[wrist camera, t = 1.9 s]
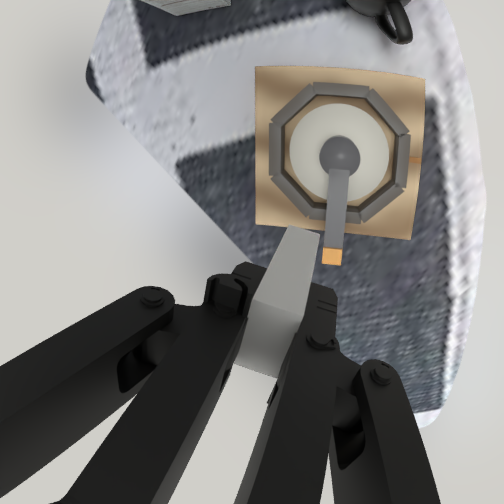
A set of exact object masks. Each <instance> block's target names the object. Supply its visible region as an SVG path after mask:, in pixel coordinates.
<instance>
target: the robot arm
mask: <svg viewBox="0 0 504 504" xmlns="http://www.w3.org/2000/svg"><path fill="white" fill-rule="evenodd" d="M319 238H320V234H317V233H314V232H311V231H308V230H305V229H302V228H299V227H296V226H293V225H290V224H289V226H288V228H287V230H286V232H285V234H284V236H283V238H282V240H281V242H280V244H279V246H278V248H277V250H276V252H275V254H274V256H273V258H272V260H271V262H270V265H269V267H268V269H267V268H264V267H261V266H258V265H255V264H252V263H249V262H244V263H241V264H239V265H237V266H236V267H235V269H234V270H233V272H232V273H231V274H216V275H212V276H211V277H209V278H208V279H207V284H206V290H205V296H204V302H203V304H202V305H201V306H185V305H179V304H175V299H174V297H173V295H172V294H171V293H170V292H169V291H168V290H165V289H163V288H161V287H155V286H145V287H141V288H139V289H136V290H135V291H132V292H131V293H129V294H127V295H126V296H123V297H122V298H120V299H118V300H116V301H114V302H112V303H111V304H109V305H107V306H105V307H103V308H102V309H100V310H98V311H96V312H94V313H93V314H91V315H89V316H87V317H86V318H84V319H82V320H80V321H78V322H77V323H75V324H73V325H71V326H69V327H68V328H66V329H64V330H62V331H61V332H59V333H57V334H55V335H53V336H52V337H50V338H48V339H46V340H45V341H43V342H41V343H39V344H38V345H36V346H35V347H33V348H31V349H29V350H27V351H26V352H24V353H22V354H21V355H19V356H17V357H15V358H14V359H12V360H10V361H8V362H7V363H5V364H3V365H2V366H0V498H1V497H3V496H4V495H6V494H7V493H8V492H10V491H11V490H13V489H14V488H16V487H17V486H18V485H20V484H21V483H22V482H24V481H25V480H27V479H28V478H29V477H31V476H32V475H33V474H35V473H36V472H37V471H39V470H40V469H41V468H43V467H44V466H45V465H47V464H48V463H49V462H51V461H52V460H53V459H55V458H56V457H57V456H59V455H60V454H61V453H63V452H64V451H65V450H66V449H68V448H69V447H71V446H72V445H73V444H74V443H76V442H77V441H78V440H80V439H81V438H82V437H83V436H85V435H86V434H87V433H88V432H90V431H91V430H92V429H94V428H95V427H96V426H97V425H99V424H100V423H101V422H102V421H104V420H105V419H106V418H108V417H109V416H110V415H111V414H113V413H114V412H115V411H116V410H118V409H119V408H120V407H121V406H123V405H124V404H125V403H126V402H127V401H129V400H130V399H131V398H133V397H134V396H135V395H136V394H137V395H136V396H135V398H134V399H133V400H132V402H131V403H130V405H129V406H128V407H127V409H126V411H125V412H124V413H123V414H122V416H121V417H120V419H119V420H118V422H117V423H116V424H115V426H114V427H113V429H112V430H111V431H110V433H109V434H108V436H107V437H106V438H105V440H104V441H103V443H102V444H101V446H100V447H99V449H98V450H97V451H96V453H95V454H94V456H93V457H92V458H91V460H90V461H89V463H88V464H87V465H86V467H85V468H84V470H83V471H82V473H81V474H80V476H79V477H78V478H77V480H76V481H75V483H74V484H73V486H72V487H71V488H70V490H69V491H68V493H67V494H66V495H65V496H64V497H63V498H62V499H61V500H60V501H57V502H54V503H50V504H168V502H169V500H170V498H171V496H172V494H173V492H174V490H175V488H176V486H177V484H178V482H179V480H180V478H181V476H182V474H183V472H184V470H185V468H186V466H187V464H188V462H189V460H190V458H191V456H192V454H193V452H194V450H195V448H196V446H197V444H198V441H199V440H200V437H201V435H202V433H203V431H204V429H205V427H206V425H207V423H208V421H209V418H210V416H211V414H212V412H213V410H214V408H215V406H216V404H217V402H218V399H219V397H220V395H221V393H222V391H223V389H224V387H225V384H226V382H227V380H228V378H229V376H230V372H231V369H232V365H233V363H234V364H237V365H239V366H242V367H245V368H248V369H251V370H254V371H256V372H260V373H262V374H265V375H268V376H272V377H275V378H278V379H277V382H276V384H275V386H274V388H273V390H272V393H271V395H270V397H269V399H268V401H267V403H268V407H267V410H266V413H265V416H264V419H263V422H262V425H261V428H260V431H259V434H258V437H257V440H256V443H255V446H254V449H253V452H252V455H251V458H250V461H249V463H248V467H247V469H246V472H245V475H244V478H243V480H242V483H241V486H240V488H239V491H238V494H237V497H236V499H235V502H234V504H320V499H321V494H322V489H323V483H324V478H325V471H326V465H327V459H328V453H329V460H330V469H331V476H332V485H333V494H334V504H441V503H440V499H439V495H438V492H437V488H436V484H435V481H434V477H433V474H432V470H431V467H430V463H429V460H428V457H427V454H426V450H425V447H424V444H423V441H422V438H421V435H420V432H419V429H418V426H417V423H416V420H415V417H414V414H413V411H412V409H411V406H410V403H409V400H408V397H407V395H406V392H405V389H404V387H403V384H402V381H401V379H400V376H399V375H398V373H397V371H396V370H395V369H394V368H393V367H392V366H391V365H389V364H387V363H385V362H383V361H380V360H376V359H374V360H367V361H366V362H364V363H363V364H362V366H361V365H359V364H357V363H355V362H354V361H352V360H350V359H349V358H347V357H346V356H344V355H343V354H342V353H341V352H340V347H339V342H338V340H337V339H336V338H335V331H336V317H337V314H336V313H337V301H338V298H337V296H336V294H335V292H334V290H333V289H331V288H328V287H325V286H322V285H319V284H316V283H313V282H311V279H312V274H313V269H314V264H315V259H316V254H317V248H318V243H319ZM234 361H235V362H234ZM278 375H279V376H278Z"/></svg>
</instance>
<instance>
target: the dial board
mask: <svg viewBox="0 0 504 504" xmlns="http://www.w3.org/2000/svg"><path fill="white" fill-rule="evenodd" d="M334 103H335V104H347V105H351V106H355V107H357V108H359V109H361V110H363V111H365V112H366V113H368V114H369V115H370V116H371V117H373V118H374V119H375V121H376V122H377V123H378V124H379V125H380V127H381V128H382V130H383V132H384V134H385V137H386V139H387V143H388V148H389V162H388V167H387V170H386V173H385V175H384V177H383V179H382V180H381V182H380V183H379V185H378V186H377V187H376V188H375V189H374V190H373V191H372V192H370V193H369V194H367V195H366V196H364V197H362V198H359V199H356V200H353V201H347V209H346V220H345V229H344V233H353V234H362V235H372V236H381V237H390V238H398V239H407V240H410V239H411V233H412V228H413V222H414V215H415V209H416V202H417V195H418V187H419V179H420V170H421V159H422V148H423V134H424V113H425V79H422V78H417V77H411V76H405V75H399V74H392V73H385V72H377V71H369V70H359V69H348V68H334V67H314V66H257V67H255V144H256V224H259V225H270V226H282V227H288V226H289V224H290V225H293V226H296V227H299V228H303V229H314V230H324V231H325V224H326V211H327V200H326V199H323V198H321V197H319V196H317V195H315V194H313V193H312V192H311V191H309V190H308V189H307V188H306V187H305V186H304V185H303V184H302V183H301V182H300V180H299V179H298V177H297V176H296V174H295V172H294V170H293V167H292V164H291V160H290V141H291V137H292V134H293V131H294V129H295V128H296V126H297V124H298V123H299V122H300V120H301V119H302V118H303V117H304V116H305V115H306V114H308V113H309V112H310V111H312V110H314V109H315V108H318V107H320V106H323V105H327V104H334Z"/></svg>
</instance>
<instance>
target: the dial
mask: <svg viewBox="0 0 504 504" xmlns="http://www.w3.org/2000/svg"><path fill="white" fill-rule="evenodd" d="M290 160H291V164H292V167H293V170H294V172H295V174H296V176H297V177H298V179H299V180H300V182H301V183H302V184H303V185H304V186H305V187H306V188H307V189H308V190H309V191H311V192H312V193H313V194H315V195H317V196H319V197H321V198H323V199H326V200H327V211H326V224H325V236H324V247H323V257H322V263H323V264H332V265H341V257H342V247H343V239H344V229H345V220H346V209H347V201H353V200H356V199H359V198H362V197H364V196H366V195H367V194H369V193H370V192H372V191H373V190H374V189H375V188H376V187H377V186H378V185H379V183H380V182H381V180H382V179H383V177H384V175H385V173H386V170H387V167H388V162H389V148H388V143H387V139H386V137H385V134H384V132H383V130H382V128H381V127H380V125H379V124H378V123H377V122H376V121H375V119H374V118H373V117H371V116H370V115H369V114H368V113H366V112H365V111H363V110H361V109H359V108H357V107H355V106H351V105H347V104H335V103H334V104H327V105H323V106H320V107H318V108H315V109H314V110H312V111H310V112H309V113H308V114H306V115H305V116H304V117H303V118H302V119H301V120H300V122H299V123H298V124H297V126H296V128H295V129H294V131H293V134H292V137H291V141H290Z"/></svg>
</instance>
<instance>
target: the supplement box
mask: <svg viewBox="0 0 504 504" xmlns="http://www.w3.org/2000/svg"><path fill="white" fill-rule="evenodd" d="M141 1H143V2H146V3H148V4H151V5H153V6H155V7H157V8H160V9H162V10H164V11H166V12H169V13H171V14H173V15H175V16H179V15H184V14H188V13H193V12H198V11H203V10H208V9H214V8H220V7H225V6H230V5H231V0H141Z"/></svg>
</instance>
